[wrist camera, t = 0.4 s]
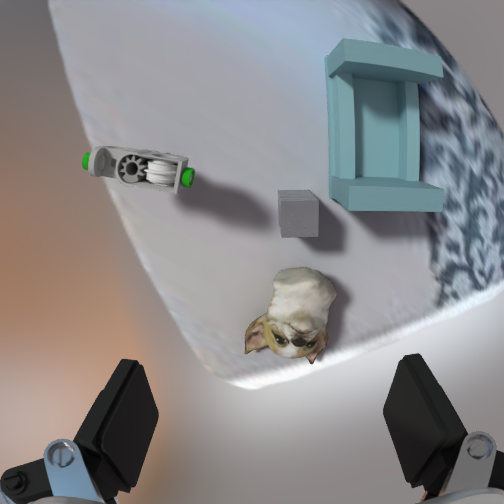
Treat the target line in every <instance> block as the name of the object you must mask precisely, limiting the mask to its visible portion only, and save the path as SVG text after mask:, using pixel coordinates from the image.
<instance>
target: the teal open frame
mask: <svg viewBox="0 0 504 504" xmlns="http://www.w3.org/2000/svg"><path fill="white" fill-rule="evenodd" d="M325 71H326V86H327V105H328V132H329V197H330V198H331V199H336V200H337V201H338V202H339V203H340V204H341V205H342V206H343V207H345V208H346V209H347V210H348V211H420V212H442V210H443V199H444V189H441V188H438V187H435V186H433V185H430V184H427V183H424V182H421V181H419V160H420V122H419V98H418V84H421V83H424V82H428V81H432V80H436V79H440V78H443V69H442V61H441V57H440V56H436V55H433V54H429V53H425V52H421V51H416V50H412V49H407V48H403V47H398V46H393V45H387V44H381V43H375V42H368V41H361V40H353V39H344V38H343V39H342V40H341V41H340V43H339V44H338V45H337V46H336V47H335V49H334V50H333V51H332V52H331V53H330V55H326V57H325Z"/></svg>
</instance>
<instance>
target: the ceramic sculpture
mask: <svg viewBox="0 0 504 504" xmlns="http://www.w3.org/2000/svg"><path fill="white" fill-rule="evenodd" d="M273 289H274V293H273V298H272V300H271V303H270V304H269V306H268V309H267V313H266V314H264V315H262V316H260V317H259V318H257V319H256V320H255V321H253V322H252V323H251V324H250V326H249V327H248V329H247V330H246V334H245V354H248V353H249V352H251V351H253V350H256V349H262V348H264V347H266V346H269V347H270V349H271V350H272V351H273V352H274V353H275V354H277V355H279V356H282V357H285V358H293V359H294V358H300V357H304V356H305V357H306V358H307V359H308V360H309V362H310V364H313V363H314V361H315V359H316V356H317V355H318V354H319V353H320V352H321V351H322V350H323V348H325V346H326V345H327V341H328V339H329V338H328V334H327V331H326V329H325V328H326V324H327V321H328V313H329V306H330V305H331V303H332V301H333V300H335V297H336V296H337V292H336V290H335V288H334V286H333V284H332V283H331V282H330V281H329V280H328V279H326V278H325V277H324V276H323V275H322V274H321V273H320V272H319V271H317V270H312V269H309V268H307V267H300V268H289V269H285V270H282V271H280V272H279V273H278V274H277V275H276V276H275V278H274V280H273Z"/></svg>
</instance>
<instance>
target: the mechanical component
mask: <svg viewBox="0 0 504 504" xmlns="http://www.w3.org/2000/svg"><path fill="white" fill-rule="evenodd" d="M188 159H189V158H187V157H183V156H178V155H172V154H169V153H159V152H158V151H155V150H139V149H132V148H124V147H116V146H102V147H96V148H94V149H93V150H92V152H91V153H89V152H88V153H86V154H85V155H84V157H83V162H82V165H83V168H84V169H87V170H89V174H90V175H91V176H96V177H99V176H105V177H111V178H117V179H118V180H119V182H120V183H121V184H123V185H125V186H128V187H134V186H137V187H143V188H148V189H153V190H159V191H164V192H169V193H174V194H177V193H179V192H180V191H182V189H183V187H184V186H185V187H191V185H192V182H193V179H194V172H195V171H194V169H193V168H188V167H187V165H188ZM152 183H156V184H165V185H169V186H158V185H153V184H152Z"/></svg>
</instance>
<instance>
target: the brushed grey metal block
mask: <svg viewBox="0 0 504 504" xmlns="http://www.w3.org/2000/svg"><path fill="white" fill-rule="evenodd" d="M278 215H279V226H280V231H281V236H282V238H289V237H318V225H319V200H318V199H317V198H316V197H315V196H314V195H313V194H312V192H311V191H310V190H278Z"/></svg>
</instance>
